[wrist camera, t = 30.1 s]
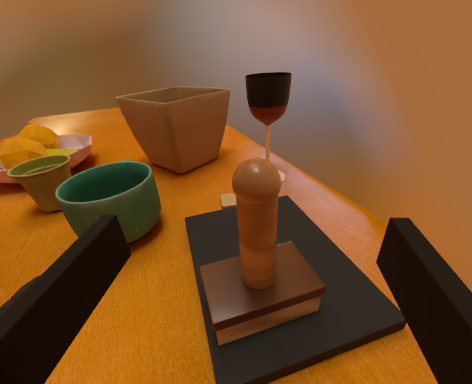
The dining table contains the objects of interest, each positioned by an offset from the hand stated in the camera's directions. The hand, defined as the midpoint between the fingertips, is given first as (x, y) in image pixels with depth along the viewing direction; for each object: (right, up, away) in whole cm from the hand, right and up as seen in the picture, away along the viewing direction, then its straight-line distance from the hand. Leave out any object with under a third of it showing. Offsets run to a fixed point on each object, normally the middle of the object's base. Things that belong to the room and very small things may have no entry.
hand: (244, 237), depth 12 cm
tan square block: (-1, 0, +31) cm, 31 cm away
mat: (+4, -7, +19) cm, 20 cm away
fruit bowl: (-52, +8, +51) cm, 74 cm away
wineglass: (+7, +6, +40) cm, 41 cm away
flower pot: (-14, +10, +51) cm, 54 cm away
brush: (+2, -9, +13) cm, 16 cm away
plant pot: (-35, 0, +35) cm, 50 cm away
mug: (-18, -3, +28) cm, 34 cm away
